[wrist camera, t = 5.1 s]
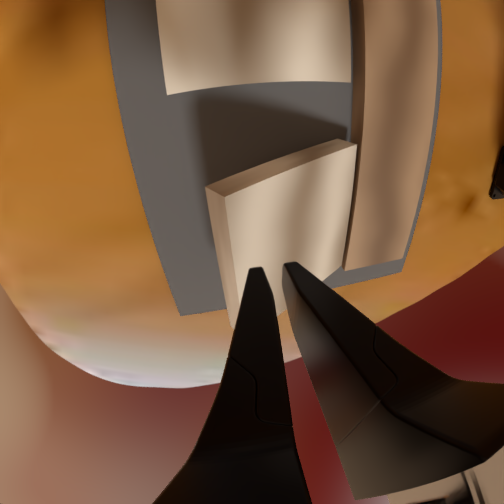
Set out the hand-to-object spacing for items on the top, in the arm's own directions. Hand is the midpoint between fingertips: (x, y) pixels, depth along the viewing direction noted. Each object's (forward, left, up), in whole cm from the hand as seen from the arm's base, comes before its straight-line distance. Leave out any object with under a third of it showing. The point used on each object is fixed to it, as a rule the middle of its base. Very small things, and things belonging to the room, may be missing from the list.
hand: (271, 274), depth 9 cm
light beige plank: (-2, -10, -10) cm, 14 cm away
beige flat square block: (-3, +4, -8) cm, 9 cm away
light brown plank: (-11, -3, -11) cm, 15 cm away
